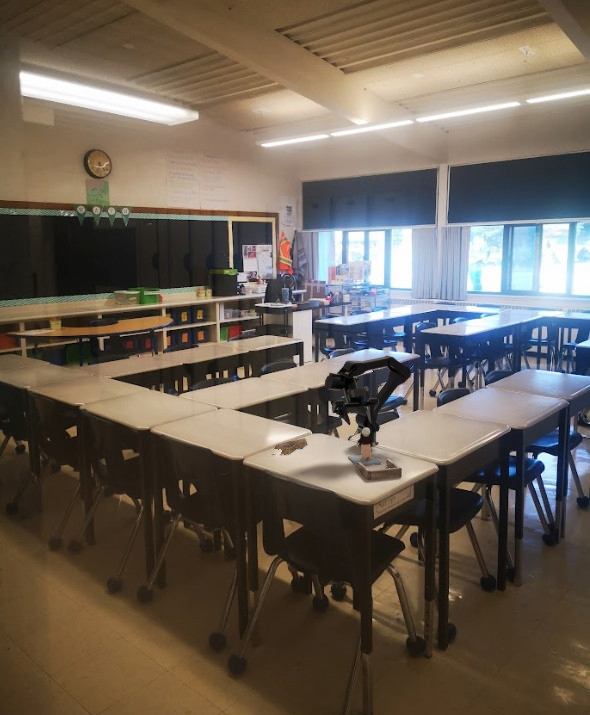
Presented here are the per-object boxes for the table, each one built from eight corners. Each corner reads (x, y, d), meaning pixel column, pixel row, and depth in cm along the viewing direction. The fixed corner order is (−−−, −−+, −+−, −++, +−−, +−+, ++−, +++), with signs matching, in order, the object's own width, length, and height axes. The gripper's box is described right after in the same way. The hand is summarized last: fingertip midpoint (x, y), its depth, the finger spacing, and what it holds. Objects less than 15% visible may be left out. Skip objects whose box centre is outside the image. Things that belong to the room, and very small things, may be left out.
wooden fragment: (283, 458, 237) (283, 455, 237) (261, 453, 243) (261, 450, 243) (318, 442, 258) (318, 439, 258) (296, 437, 264) (296, 435, 264)
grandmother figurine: (371, 456, 237) (372, 425, 235) (376, 459, 233) (377, 428, 231) (354, 458, 234) (354, 427, 232) (357, 461, 231) (358, 429, 229)
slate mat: (347, 457, 237) (347, 456, 237) (371, 455, 240) (371, 454, 240) (357, 466, 228) (357, 464, 227) (381, 463, 230) (381, 462, 230)
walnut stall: (356, 469, 224) (356, 461, 224) (388, 466, 228) (388, 458, 227) (368, 479, 214) (368, 471, 213) (401, 476, 217) (401, 468, 217)
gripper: (334, 380, 236) (343, 415, 227) (378, 378, 241) (389, 411, 232) (327, 395, 244) (336, 429, 236) (369, 393, 249) (380, 426, 241)
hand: (360, 423), depth 236 cm, fingers open, 9 cm apart
